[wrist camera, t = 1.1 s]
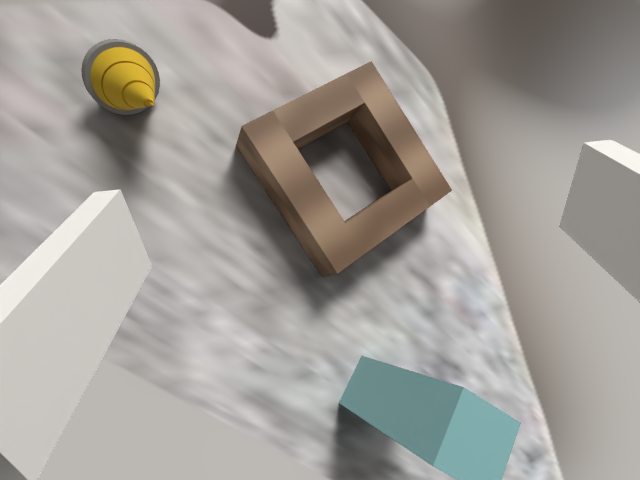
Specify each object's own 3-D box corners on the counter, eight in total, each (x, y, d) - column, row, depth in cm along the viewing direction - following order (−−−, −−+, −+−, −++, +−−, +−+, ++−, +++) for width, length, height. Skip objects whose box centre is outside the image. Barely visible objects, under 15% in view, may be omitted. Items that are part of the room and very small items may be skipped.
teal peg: (338, 403, 34) (432, 466, 21) (361, 355, 35) (463, 387, 22) (379, 426, 35) (494, 500, 22) (400, 379, 36) (520, 422, 23)
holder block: (236, 145, 35) (241, 126, 31) (354, 84, 39) (371, 61, 36) (321, 276, 35) (337, 273, 32) (427, 200, 40) (452, 190, 36)
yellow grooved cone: (155, 59, 34) (205, 91, 28) (125, 112, 35) (167, 154, 29) (92, 16, 30) (135, 42, 24) (59, 77, 30) (93, 118, 24)
